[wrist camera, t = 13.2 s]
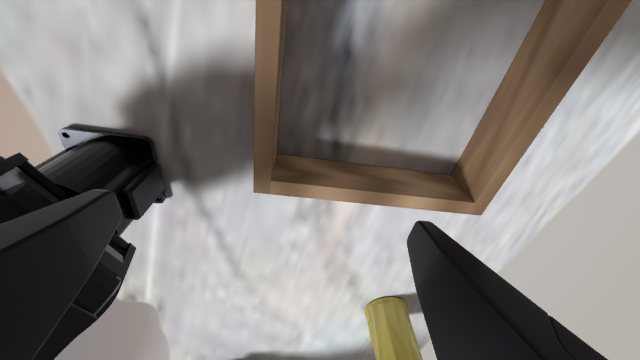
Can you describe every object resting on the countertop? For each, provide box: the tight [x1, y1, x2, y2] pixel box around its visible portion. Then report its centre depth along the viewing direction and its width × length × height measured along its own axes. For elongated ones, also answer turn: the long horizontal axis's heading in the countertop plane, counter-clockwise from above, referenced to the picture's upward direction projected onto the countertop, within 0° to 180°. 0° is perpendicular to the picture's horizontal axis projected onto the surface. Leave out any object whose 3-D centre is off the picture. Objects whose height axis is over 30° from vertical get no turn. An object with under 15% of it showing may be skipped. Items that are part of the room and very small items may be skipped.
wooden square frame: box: [254, 0, 631, 215], centre depth 16 cm, size 18×18×4 cm
